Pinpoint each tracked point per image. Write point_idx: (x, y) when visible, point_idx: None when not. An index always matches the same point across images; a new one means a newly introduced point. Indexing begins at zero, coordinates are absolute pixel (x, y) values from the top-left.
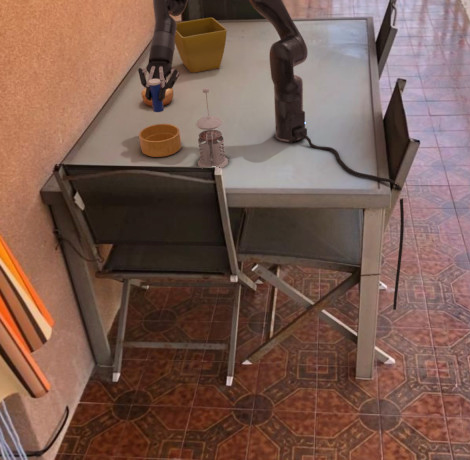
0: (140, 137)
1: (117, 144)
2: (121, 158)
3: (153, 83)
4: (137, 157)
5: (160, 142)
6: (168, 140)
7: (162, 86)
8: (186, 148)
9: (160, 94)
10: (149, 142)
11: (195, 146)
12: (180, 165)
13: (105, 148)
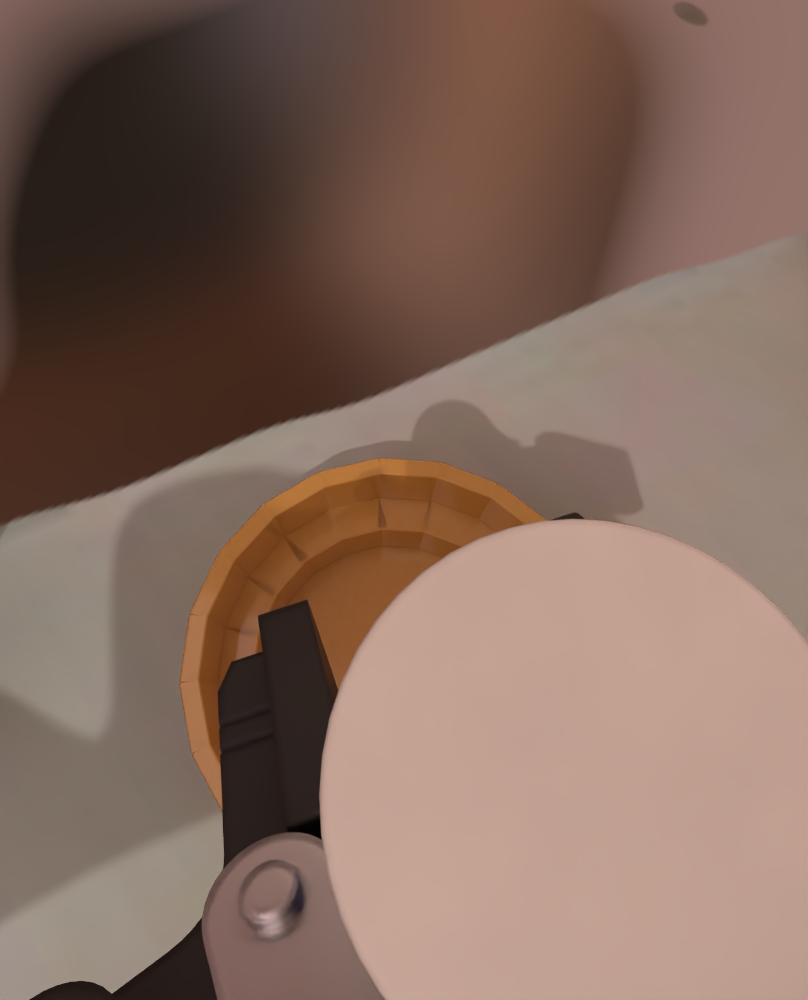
0: (501, 492)
1: (772, 571)
2: (572, 413)
3: (453, 551)
4: (477, 473)
5: (265, 505)
6: (211, 568)
7: (276, 873)
8: (195, 781)
9: (278, 667)
10: (366, 464)
11: (135, 856)
12: (89, 513)
13: (797, 480)
